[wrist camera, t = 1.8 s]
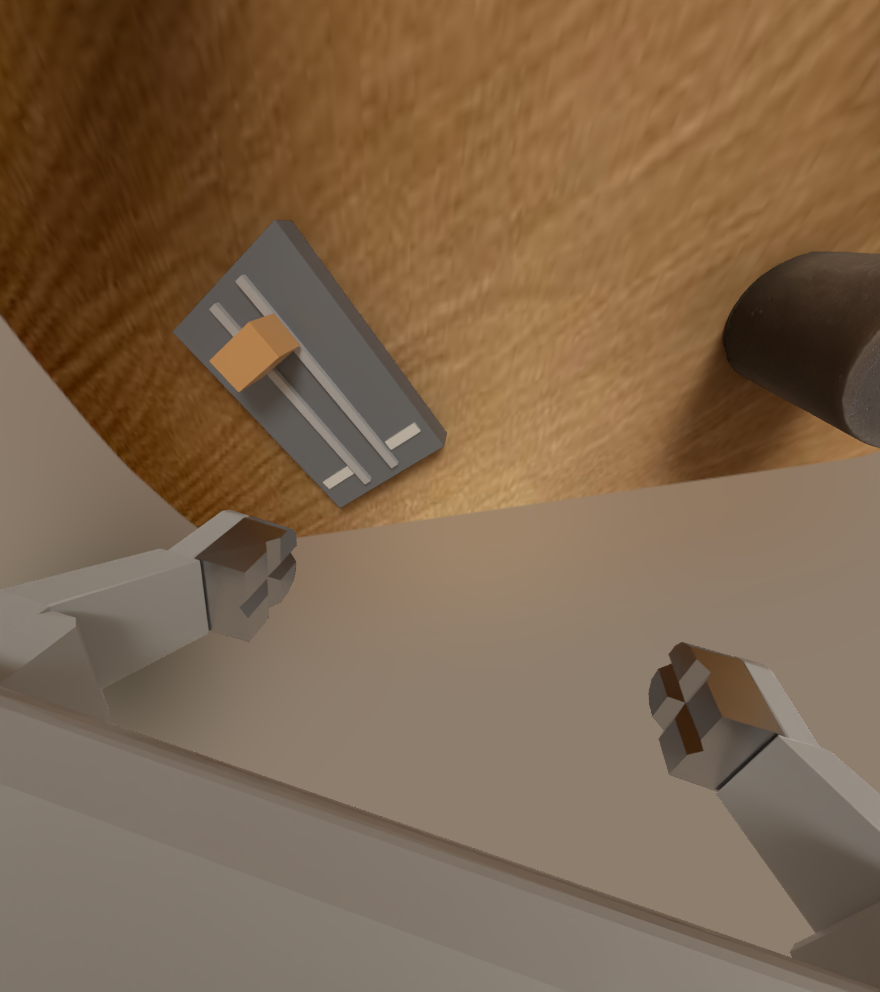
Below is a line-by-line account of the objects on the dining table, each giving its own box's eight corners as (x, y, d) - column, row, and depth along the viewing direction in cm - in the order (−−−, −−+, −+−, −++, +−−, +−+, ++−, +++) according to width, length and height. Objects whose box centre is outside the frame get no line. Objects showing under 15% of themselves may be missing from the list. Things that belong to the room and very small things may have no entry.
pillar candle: (696, 344, 34) (812, 408, 21) (806, 221, 29) (1042, 212, 16) (779, 401, 36) (931, 492, 23) (897, 295, 31) (1174, 337, 18)
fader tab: (241, 346, 35) (209, 360, 31) (278, 311, 33) (248, 321, 29) (267, 375, 36) (238, 392, 32) (304, 342, 35) (278, 357, 31)
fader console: (193, 325, 38) (167, 333, 35) (291, 220, 32) (270, 219, 29) (348, 493, 47) (338, 511, 44) (446, 433, 41) (443, 448, 38)
